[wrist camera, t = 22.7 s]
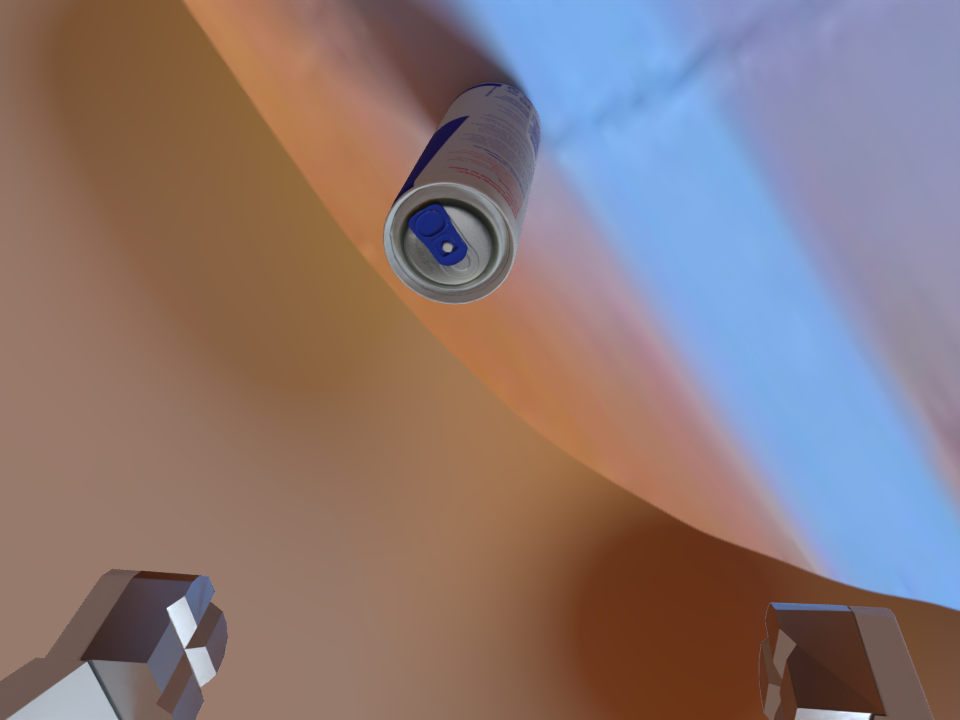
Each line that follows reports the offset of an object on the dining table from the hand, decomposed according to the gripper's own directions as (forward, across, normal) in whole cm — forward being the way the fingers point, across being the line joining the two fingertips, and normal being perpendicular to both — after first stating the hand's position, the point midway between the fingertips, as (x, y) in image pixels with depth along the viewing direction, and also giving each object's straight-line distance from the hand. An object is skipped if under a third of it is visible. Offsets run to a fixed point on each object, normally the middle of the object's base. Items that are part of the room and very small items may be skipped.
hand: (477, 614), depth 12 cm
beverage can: (+34, +4, +3) cm, 35 cm away
